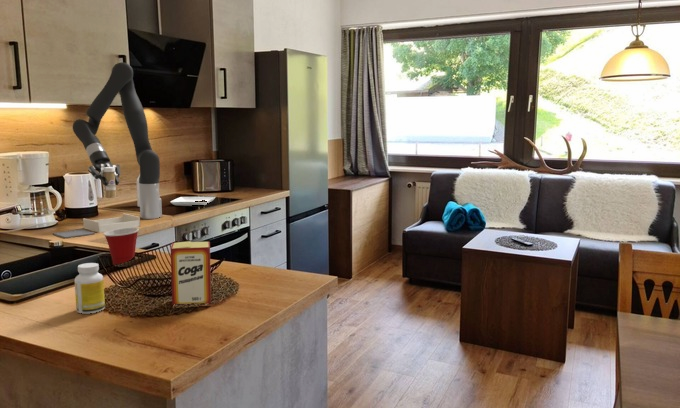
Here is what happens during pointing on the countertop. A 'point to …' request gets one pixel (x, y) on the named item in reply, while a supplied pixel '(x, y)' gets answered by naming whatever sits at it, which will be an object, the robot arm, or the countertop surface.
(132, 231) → the plastic cup
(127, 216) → the white shallow box
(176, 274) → the baking soda box
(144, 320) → the countertop surface
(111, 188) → the sprinkles bottle
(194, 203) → the salad plate
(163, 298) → the countertop surface
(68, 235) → the coaster
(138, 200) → the milk carton
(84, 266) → the pill bottle
